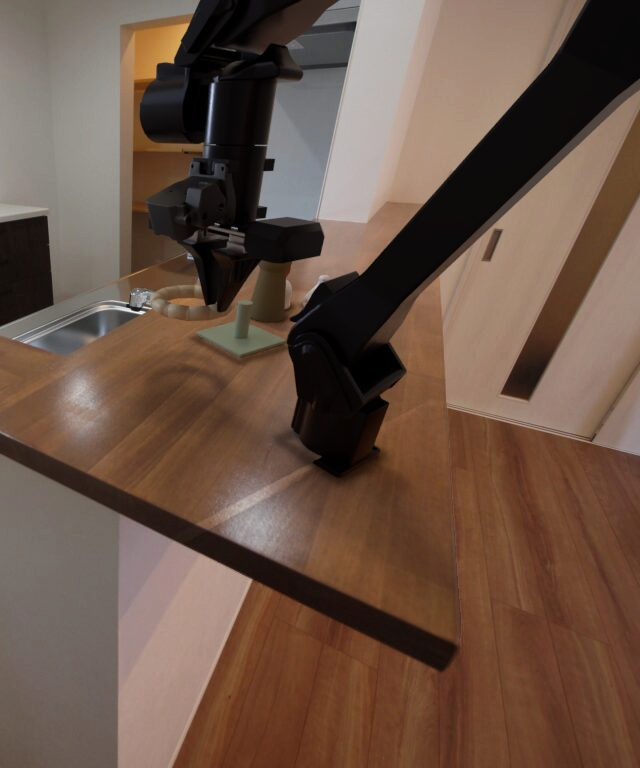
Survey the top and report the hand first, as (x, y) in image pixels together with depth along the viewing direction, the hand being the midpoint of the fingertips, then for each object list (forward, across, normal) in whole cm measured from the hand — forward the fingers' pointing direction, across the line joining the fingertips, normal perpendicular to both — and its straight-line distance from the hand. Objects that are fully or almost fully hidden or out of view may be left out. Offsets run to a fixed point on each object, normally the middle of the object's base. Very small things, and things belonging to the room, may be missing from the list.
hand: (215, 309), depth 47 cm
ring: (0, -4, 0) cm, 4 cm away
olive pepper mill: (+10, -12, +24) cm, 29 cm away
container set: (+10, -10, +35) cm, 38 cm away
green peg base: (+10, -6, +12) cm, 17 cm away
